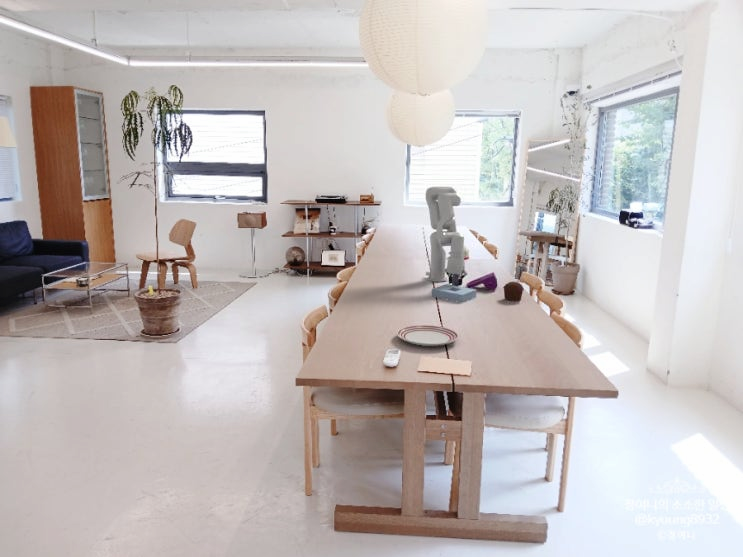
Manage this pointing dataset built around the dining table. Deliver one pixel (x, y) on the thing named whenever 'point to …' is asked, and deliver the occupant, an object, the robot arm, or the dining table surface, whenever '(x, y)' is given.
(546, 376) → the dining table surface
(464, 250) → the kitchen timer
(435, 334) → the dinner plate
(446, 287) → the well block
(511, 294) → the muffin
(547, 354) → the dining table surface
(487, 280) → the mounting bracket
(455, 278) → the steel bracket
